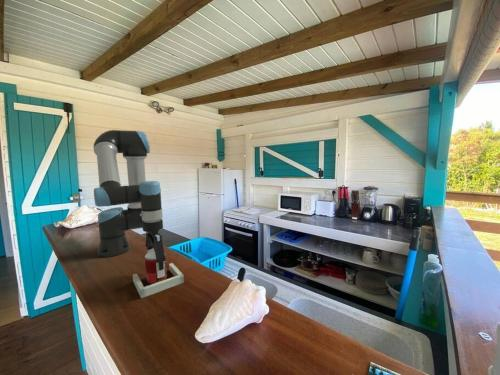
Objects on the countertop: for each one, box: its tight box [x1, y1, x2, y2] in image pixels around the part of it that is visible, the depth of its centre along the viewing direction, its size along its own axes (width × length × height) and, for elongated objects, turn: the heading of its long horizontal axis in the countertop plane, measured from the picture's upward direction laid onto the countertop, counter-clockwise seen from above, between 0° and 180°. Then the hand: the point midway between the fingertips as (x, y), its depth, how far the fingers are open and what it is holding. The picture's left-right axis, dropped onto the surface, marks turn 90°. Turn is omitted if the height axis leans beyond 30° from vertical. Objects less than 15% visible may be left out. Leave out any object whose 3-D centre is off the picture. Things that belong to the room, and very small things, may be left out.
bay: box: [132, 262, 185, 299], centre depth 88 cm, size 14×16×3 cm
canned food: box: [144, 251, 168, 285], centre depth 90 cm, size 8×8×11 cm
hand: (156, 270), depth 90 cm, fingers open, 13 cm apart
